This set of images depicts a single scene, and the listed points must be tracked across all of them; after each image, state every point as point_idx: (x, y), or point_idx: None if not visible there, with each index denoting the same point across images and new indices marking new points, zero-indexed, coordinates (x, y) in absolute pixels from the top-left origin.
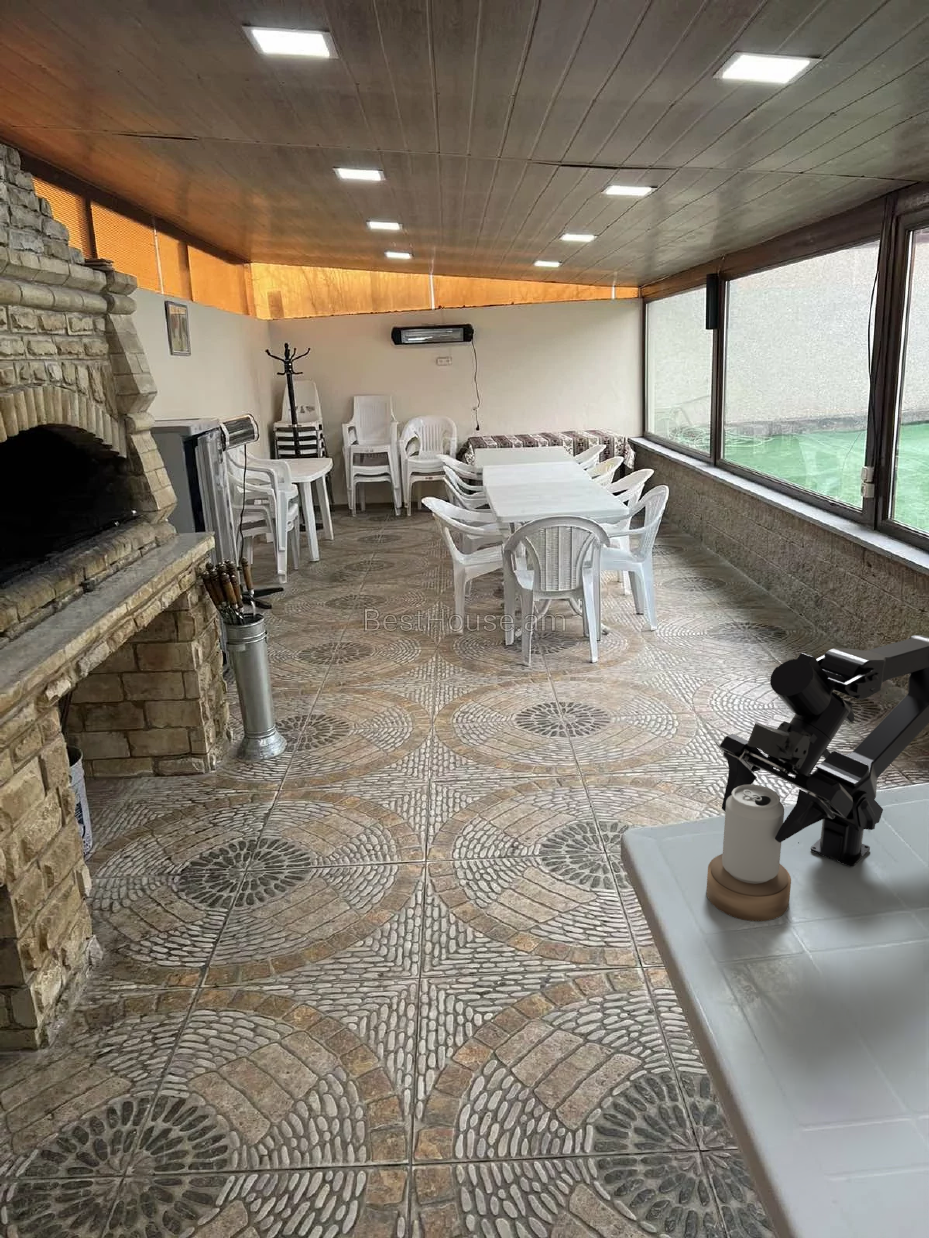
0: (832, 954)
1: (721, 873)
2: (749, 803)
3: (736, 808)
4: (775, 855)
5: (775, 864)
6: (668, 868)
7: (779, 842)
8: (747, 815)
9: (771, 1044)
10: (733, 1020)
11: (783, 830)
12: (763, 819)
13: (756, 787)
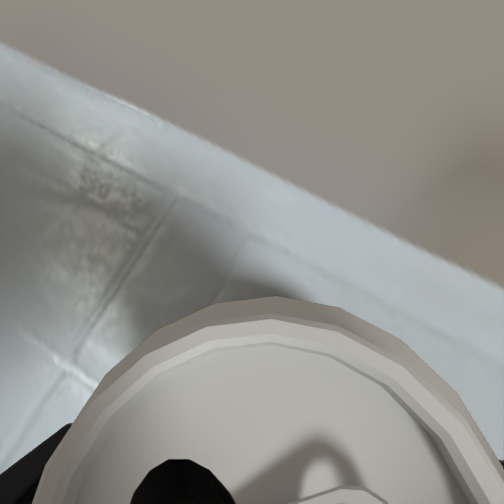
0: (22, 406)
1: None
2: (239, 416)
3: (292, 315)
4: (156, 470)
5: (170, 469)
6: (497, 358)
7: None
8: (193, 321)
9: (18, 134)
10: (82, 125)
11: (13, 466)
12: (98, 386)
13: None
